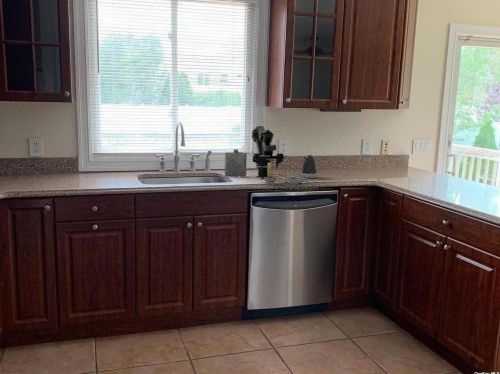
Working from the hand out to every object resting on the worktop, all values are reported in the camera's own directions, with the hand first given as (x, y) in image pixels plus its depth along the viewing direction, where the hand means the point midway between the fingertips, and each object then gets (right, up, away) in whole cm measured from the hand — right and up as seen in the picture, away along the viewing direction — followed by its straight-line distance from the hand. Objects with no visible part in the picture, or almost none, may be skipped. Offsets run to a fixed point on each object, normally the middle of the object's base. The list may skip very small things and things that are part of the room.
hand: (269, 168), depth 305 cm
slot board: (+9, -6, +18) cm, 21 cm away
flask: (-21, -4, +28) cm, 35 cm away
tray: (+15, -8, +8) cm, 19 cm away
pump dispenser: (+27, -5, +26) cm, 38 cm away
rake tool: (0, -10, 0) cm, 10 cm away
